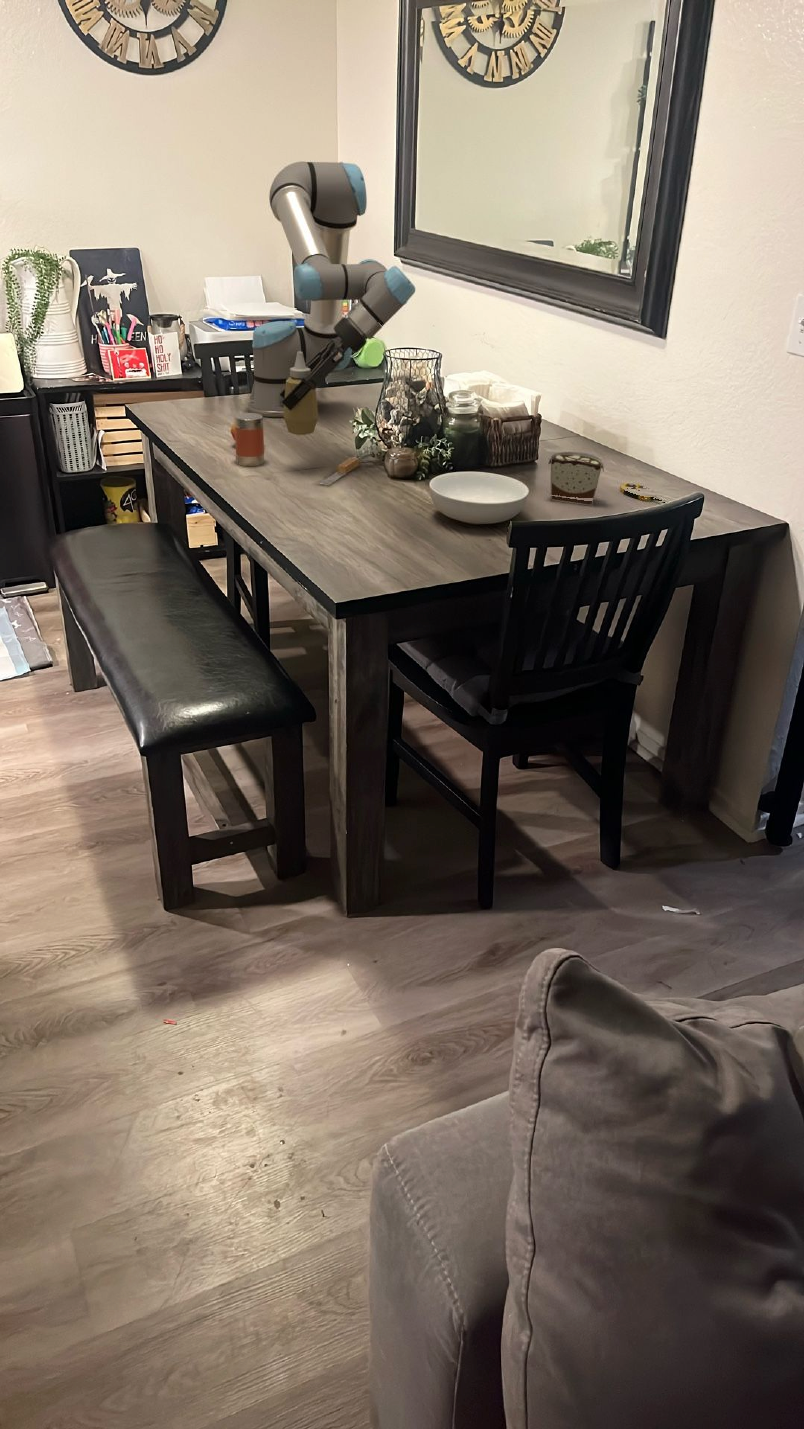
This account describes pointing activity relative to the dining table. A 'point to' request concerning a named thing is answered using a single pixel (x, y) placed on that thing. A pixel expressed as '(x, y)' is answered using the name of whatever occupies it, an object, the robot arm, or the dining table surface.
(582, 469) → the food container
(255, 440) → the tin can
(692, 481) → the dining table surface
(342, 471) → the knife
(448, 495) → the serving bowl
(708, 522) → the dining table surface
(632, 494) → the overripe banana
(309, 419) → the squeeze bottle
